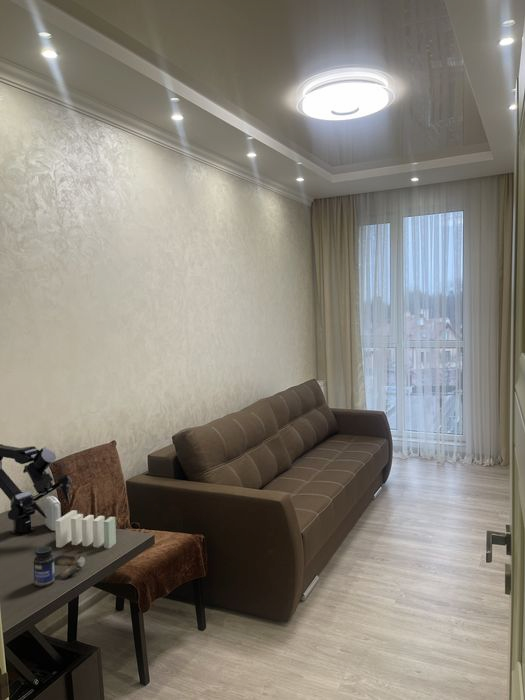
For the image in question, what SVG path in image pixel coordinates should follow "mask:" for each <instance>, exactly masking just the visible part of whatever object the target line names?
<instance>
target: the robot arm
mask: <svg viewBox="0 0 525 700" xmlns="http://www.w3.org/2000/svg"><path fill="white" fill-rule="evenodd" d="M4 458H6V459H13V460H14V462H15V463H17V464H20V465H24V469H23V470H22V473H23V474H25V473H27V474H28V476H29V477H30V480H31V481H32V487H33V488H34V490H35V491H36V493H37V494H36V495H32V493H31V492H30V491H29V490H26V491H22V490H21V489H20V488H19V487H18V485H17V484H16V483H14V481H13V480H12V478H11V477H10V476H9V475H8V474H7V473H6V471H5V470H4V469H3V467H2V466H3V462H2V461H3V459H4ZM56 459H57V456H56V453H55V452H54V451H52V450H51V449H48V448H47V447H42V448H41V449H37V447H36V446H33V445H31V446H24V447H16V446H11V445H6V444H5V445H4V444H2V443H1V444H0V490H1V491H2V492H3V493H4V494H5V496H6V497H7V498H8V499H9V500H10V510H9V511H8V512H7V517H8V520H12V521H13V523H12V524H13V529H12V530H11V531H10V534H12V535H17V536H19V537H21V536H23V535H26V534H29V533H30V532H33V531H35V528H33V527H32V521H31V520H32V519H31V516H32V515H35V513H36V512H38V513H39V514H40V515H41V516H43V518H44V519H45V518H47V517H46V515H45V511H44V510H43V509H42V507H41V506H40V504H38V503H37V501H39V500H40V499H42V498H44V497H45V496H47V495H49V494H50V493H52V492H54V491H55V490H57V489H61V490H62V493H63V496H64V498H65V500H66V503H67V504H68V505H71V503H70V495H69V494H70V493H69V488H70V487H71V484H72V483H73V480H72V478H71V476H69V474H65V475H63V476H61V477H60V478H58V479H57V482H56V483H55V484H53V482H54V478H53V476H52V474H51V473H50V472H48V473H47V472H46V470H47V469H48V468H49V467H50V466H51V465H52V464H53V463H54V462H55V461H56ZM28 463H29V464H28ZM25 464H26V465H25Z"/></svg>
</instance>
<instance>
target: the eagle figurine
mask: <svg viewBox="0 0 525 700" xmlns="http://www.w3.org/2000/svg"><path fill="white" fill-rule="evenodd" d="M76 558H77V559H76ZM85 562H86V558H85V557H83V556H80V555H79V553H78V552H76V557H75V556H74V555H66V554H60V555H58V556H55V557H54V566H61V567H64V566H67V568H66V569H64V570H63V571H62V572H60V573H58V574H57V575H56V577H55V580H58V581H59V580H60V581H61V580H65V579H67V578H68V577H69V576H71V575H72V574H73V573H74V574H75V573H76V572H77V571H78V569H79V570H82V569H83V568H82V567H83V566H84V565H85Z"/></svg>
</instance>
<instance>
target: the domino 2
mask: <svg viewBox="0 0 525 700" xmlns="http://www.w3.org/2000/svg"><path fill="white" fill-rule="evenodd" d="M83 518H84V513H77V515H76V516H74V517H73V518H71V539H72V540H71V545H72V546H77V545H79V544H81V542H82V519H83Z"/></svg>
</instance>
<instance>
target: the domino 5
mask: <svg viewBox="0 0 525 700" xmlns="http://www.w3.org/2000/svg"><path fill="white" fill-rule="evenodd" d="M116 524H117V523H116V517H115V516H109V517H108V518H106V519H105V521H104V543H103V547H104V549H110V548H112V547H113V546H114V545H115V544H116V543H117V534H116V533H117V531H116V529H117V528H116Z"/></svg>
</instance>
